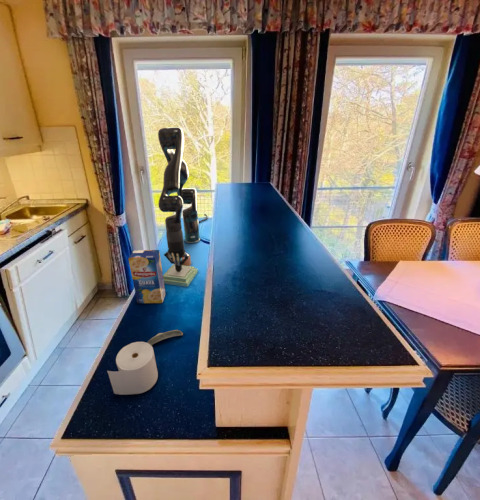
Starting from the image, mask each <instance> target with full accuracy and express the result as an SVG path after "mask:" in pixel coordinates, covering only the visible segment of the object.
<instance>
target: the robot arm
mask: <svg viewBox="0 0 480 500" xmlns="http://www.w3.org/2000/svg"><path fill="white" fill-rule="evenodd" d="M157 137H158V142H159V145H160V148H161V150H162V153H163V155H164V157H165V159H166V162H167V165H166V167H165V169H164V171H163V181H162V183H163V185H162V190H161V193H160V196H159V199H158V208H159V210H160V212H162V213H175V214H173V215H169V216H167V217H166V218H165V219H164V222H165V223H164V224H165V230H166V231H165V236H166V243H167V251H166V252H165V253H164V254H163V256H164V257H165V258H166V259H167V260H168V262H169V263H170V264H172V265H173V264H174V265H175V269H176V270H177V272H180V271H181V270H182V265H183V264H184V263H185V261H186V260H187V259H188V258H189V256H191V254H190V253H187V252H186V250H185V243H187V244H196V243H198V242H200V241H201V238H200V225H199V224H200V223H201V222H204V221H206V220H208V219H209V217H208V215H207V214H206V213H204V214H203V216H205V217H206V218H204V219H201V220H199V212H198V194H197V193H198V191H197V189H196V188H194V187H186V188H185V187H184V186H185V184H186V183H187V181H188V180H189V176H190V172H189V168H188V165H187V162H186V161H185V160H184V159H183V153H184V148H185V135H184V131H183V129H182V128H181V127H178V126H177V127H176V126H174V127H161V128H160V129H159V130H158V132H157ZM171 194H176V195H171ZM184 205H190V206H189V207H186V208H184ZM183 208H184V209H183ZM182 222H183V227H182ZM183 255H184V260H183V261H182V257H183Z"/></svg>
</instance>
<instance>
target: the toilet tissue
mask: <svg viewBox="0 0 480 500" xmlns="http://www.w3.org/2000/svg"><path fill="white" fill-rule="evenodd" d="M115 364H116V367H117V369H118V371H114V370H113V371H112V370H106V371H107V374H108V378H109V381H110V385H111V388H112V391H113V394H115V395H120V396H123V395H125V396H128V395H139V394H143V393H145V392H147V391H149V390H151V389H152V388H153V387H154V386H155V384H156V383H157V381H158V377H159V371H158V368H157V361H156V356H155V352H154V347H153V345H150V344H149V343H147V342H145V341H135V342H131V343H129V344H127V345H125V346H123V347H122V348H121V349H120V350H119V351H118V353H117V355H116V357H115Z"/></svg>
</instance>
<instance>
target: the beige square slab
mask: <svg viewBox="0 0 480 500" xmlns="http://www.w3.org/2000/svg"><path fill="white" fill-rule="evenodd" d="M190 269H191V267H182V270H181V271H180V272H177V270H176V269H175V266H174V267H173V268H172V269H171V270H170V271H169V272H168V274H167V275H168V276H176V277H185V276H186V275H187V273H188V272H189V271H190Z"/></svg>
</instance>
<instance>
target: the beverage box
mask: <svg viewBox="0 0 480 500" xmlns="http://www.w3.org/2000/svg"><path fill="white" fill-rule="evenodd" d="M127 259H128V264H129V269H130V273H131V279H132V284H133V288H134V294H135V298H136V302H137V304H163V302H164V300H165V298H166V295H167V293H166V287H165V286H166V284H164V279H163V275H164V272H163V265H162V259H161V251H160V249H147V250H146V249H139V250H138V249H137V250H136V249H134V250H132V252H131V254H130V255H129V256H128V258H127Z"/></svg>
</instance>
